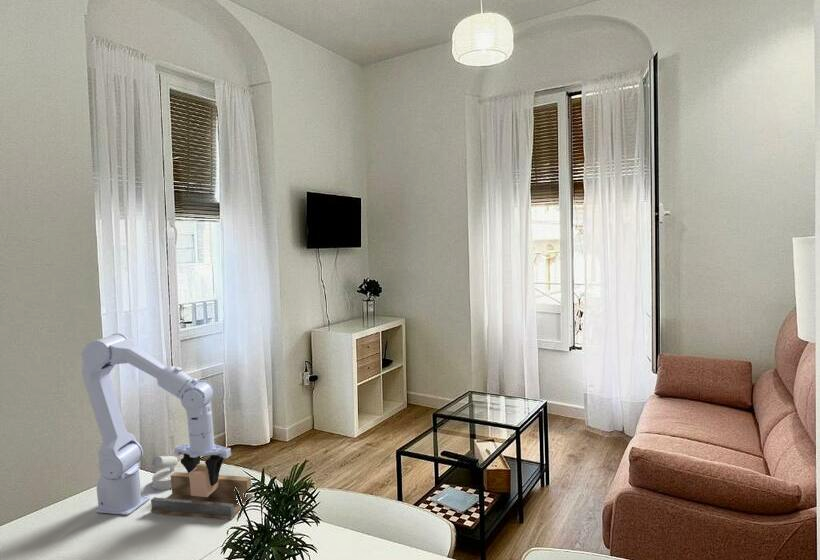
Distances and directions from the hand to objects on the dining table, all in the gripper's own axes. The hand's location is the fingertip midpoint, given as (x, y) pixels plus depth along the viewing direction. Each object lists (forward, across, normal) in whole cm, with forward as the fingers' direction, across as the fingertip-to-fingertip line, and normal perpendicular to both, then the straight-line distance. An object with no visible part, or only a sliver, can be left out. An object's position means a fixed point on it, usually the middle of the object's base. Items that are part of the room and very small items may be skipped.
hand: (205, 483), depth 130 cm
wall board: (+6, -1, 0) cm, 6 cm away
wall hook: (+6, -18, +9) cm, 21 cm away
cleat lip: (+5, -1, -4) cm, 7 cm away
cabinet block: (+2, 0, 0) cm, 2 cm away
